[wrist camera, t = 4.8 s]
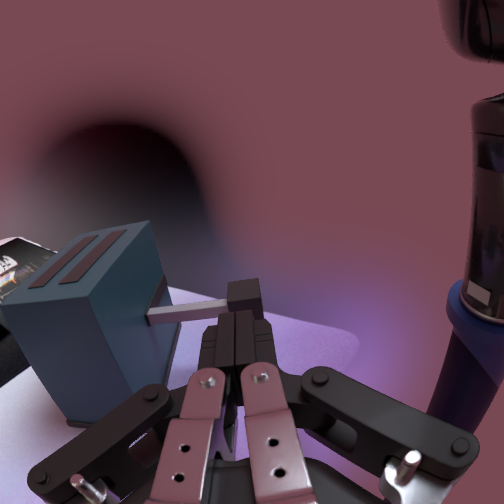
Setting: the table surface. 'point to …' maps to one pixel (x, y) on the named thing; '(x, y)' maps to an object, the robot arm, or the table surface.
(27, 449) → the table surface
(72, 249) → the toaster
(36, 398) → the table surface
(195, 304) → the slider
